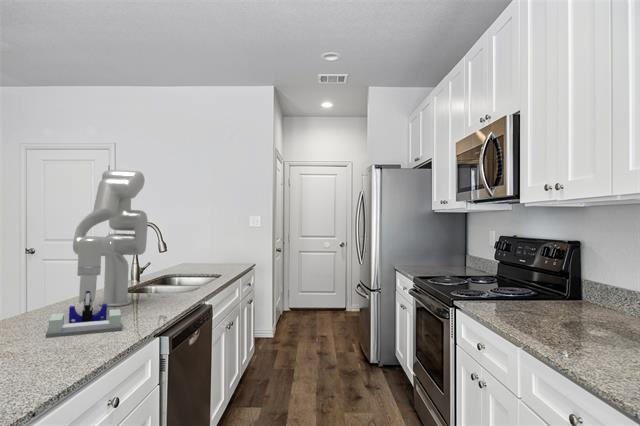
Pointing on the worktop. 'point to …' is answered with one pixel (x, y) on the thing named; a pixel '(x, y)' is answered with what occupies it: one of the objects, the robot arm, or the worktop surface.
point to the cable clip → (95, 317)
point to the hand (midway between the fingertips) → (87, 319)
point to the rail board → (83, 325)
